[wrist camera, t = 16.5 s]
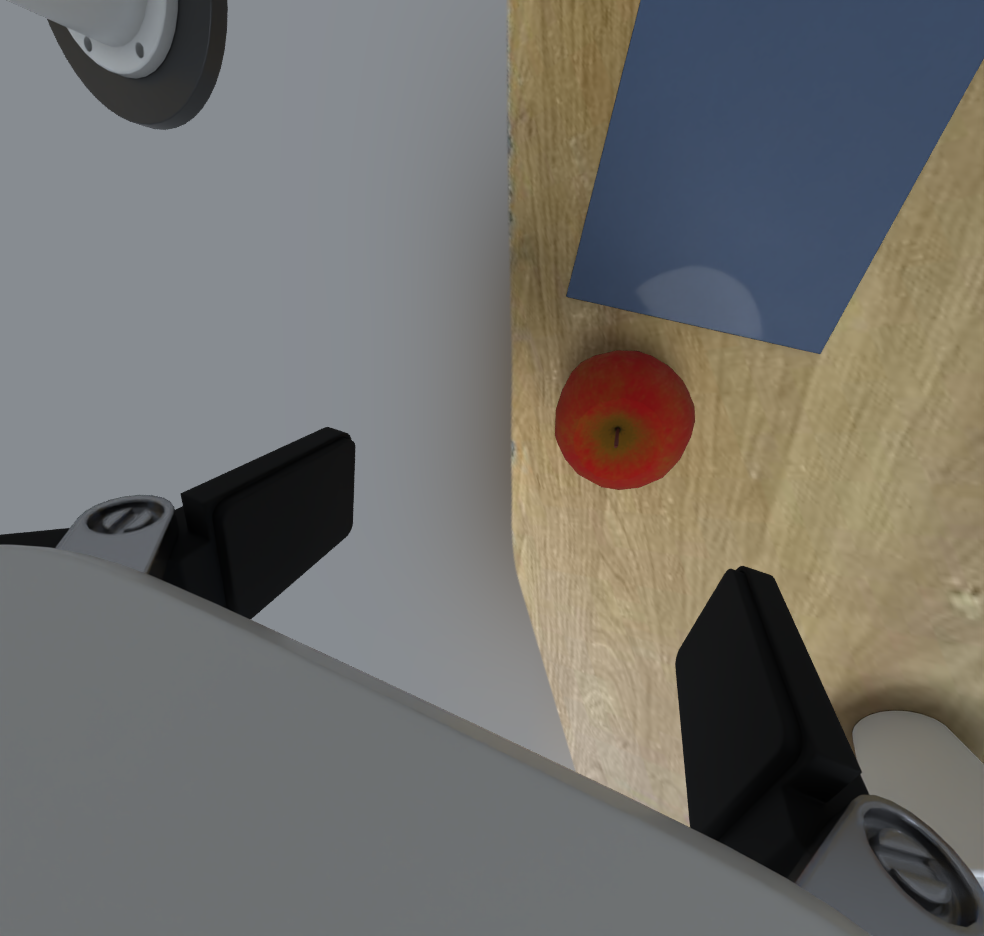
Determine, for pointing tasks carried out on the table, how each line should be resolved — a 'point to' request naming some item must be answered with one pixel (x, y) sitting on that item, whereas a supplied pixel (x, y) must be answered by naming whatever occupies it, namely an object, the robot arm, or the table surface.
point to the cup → (926, 777)
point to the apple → (623, 419)
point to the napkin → (767, 156)
